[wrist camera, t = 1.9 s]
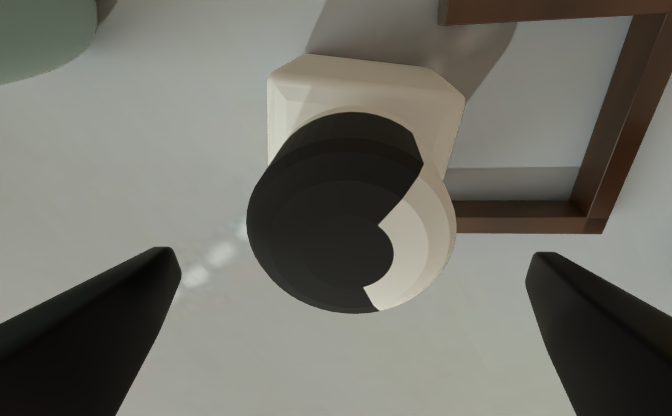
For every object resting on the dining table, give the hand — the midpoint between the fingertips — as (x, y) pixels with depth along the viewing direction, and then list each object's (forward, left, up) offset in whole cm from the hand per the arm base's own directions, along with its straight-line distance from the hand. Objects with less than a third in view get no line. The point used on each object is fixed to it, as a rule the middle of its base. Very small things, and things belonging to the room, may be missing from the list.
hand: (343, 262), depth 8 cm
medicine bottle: (0, 0, -13) cm, 13 cm away
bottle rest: (-9, -3, -13) cm, 16 cm away
